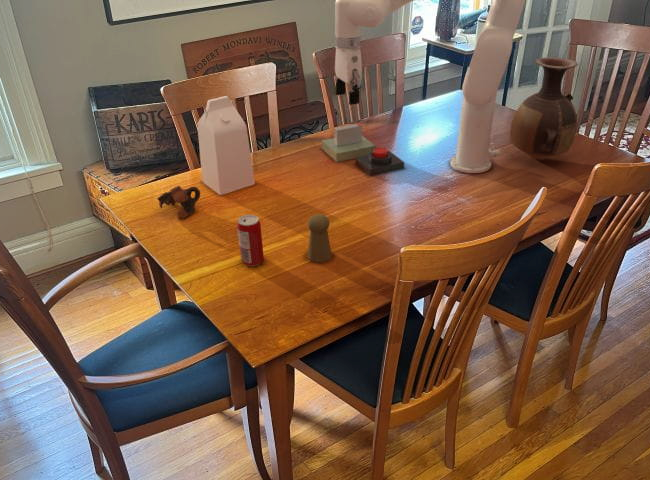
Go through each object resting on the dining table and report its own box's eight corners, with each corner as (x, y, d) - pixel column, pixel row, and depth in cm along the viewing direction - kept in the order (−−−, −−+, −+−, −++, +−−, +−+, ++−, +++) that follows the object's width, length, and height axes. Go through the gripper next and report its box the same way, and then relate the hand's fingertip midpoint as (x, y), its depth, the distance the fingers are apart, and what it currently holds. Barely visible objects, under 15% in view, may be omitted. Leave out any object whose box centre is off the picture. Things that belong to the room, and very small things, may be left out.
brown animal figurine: (174, 225, 170) (157, 198, 167) (167, 224, 179) (152, 200, 176) (210, 202, 173) (194, 176, 171) (202, 203, 182) (187, 179, 179)
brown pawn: (306, 250, 157) (305, 212, 150) (330, 248, 157) (329, 210, 151) (308, 263, 152) (306, 224, 146) (332, 261, 153) (332, 222, 146)
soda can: (266, 255, 155) (262, 213, 148) (261, 267, 151) (256, 225, 144) (244, 254, 156) (239, 212, 149) (239, 266, 152) (233, 223, 145)
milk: (236, 171, 196) (226, 89, 180) (255, 184, 188) (246, 99, 172) (202, 181, 190) (189, 98, 175) (220, 195, 183) (208, 108, 167)
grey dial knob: (337, 146, 202) (337, 129, 198) (334, 143, 204) (334, 127, 200) (362, 141, 204) (362, 124, 201) (358, 139, 206) (359, 122, 203)
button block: (388, 157, 201) (389, 145, 199) (404, 168, 194) (404, 156, 192) (355, 163, 198) (356, 152, 195) (370, 176, 190) (370, 164, 188)
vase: (558, 178, 186) (581, 77, 168) (495, 165, 194) (511, 67, 176) (577, 151, 201) (600, 56, 183) (518, 140, 210) (535, 48, 192)
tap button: (383, 151, 196) (383, 146, 195) (389, 157, 193) (389, 151, 192) (370, 154, 195) (370, 149, 194) (377, 159, 191) (377, 154, 190)
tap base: (337, 162, 199) (337, 153, 197) (321, 148, 209) (320, 139, 207) (375, 154, 203) (376, 145, 201) (358, 140, 213) (358, 132, 211)
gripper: (372, 47, 178) (370, 105, 188) (346, 33, 191) (346, 89, 201) (349, 50, 175) (348, 109, 186) (324, 36, 188) (325, 92, 199)
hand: (347, 99), depth 193 cm, fingers open, 9 cm apart
